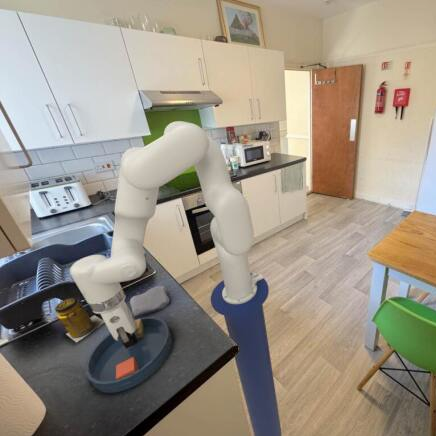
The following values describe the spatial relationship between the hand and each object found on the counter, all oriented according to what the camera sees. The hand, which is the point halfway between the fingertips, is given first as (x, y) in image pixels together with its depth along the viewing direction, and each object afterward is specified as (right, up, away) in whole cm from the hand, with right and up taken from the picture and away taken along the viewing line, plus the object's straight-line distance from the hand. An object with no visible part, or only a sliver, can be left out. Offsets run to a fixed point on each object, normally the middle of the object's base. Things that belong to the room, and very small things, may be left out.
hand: (131, 343), depth 71 cm
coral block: (+5, -5, -8) cm, 10 cm away
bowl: (+2, -2, -2) cm, 4 cm away
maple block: (-1, +1, +4) cm, 4 cm away
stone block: (-3, +6, +16) cm, 17 cm away
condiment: (-20, +1, +8) cm, 22 cm away
